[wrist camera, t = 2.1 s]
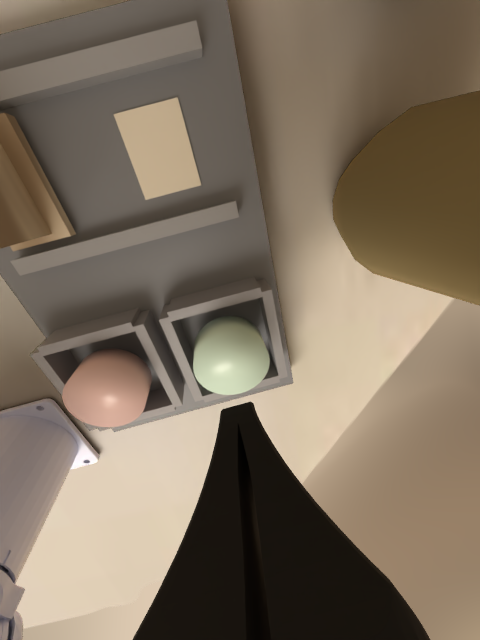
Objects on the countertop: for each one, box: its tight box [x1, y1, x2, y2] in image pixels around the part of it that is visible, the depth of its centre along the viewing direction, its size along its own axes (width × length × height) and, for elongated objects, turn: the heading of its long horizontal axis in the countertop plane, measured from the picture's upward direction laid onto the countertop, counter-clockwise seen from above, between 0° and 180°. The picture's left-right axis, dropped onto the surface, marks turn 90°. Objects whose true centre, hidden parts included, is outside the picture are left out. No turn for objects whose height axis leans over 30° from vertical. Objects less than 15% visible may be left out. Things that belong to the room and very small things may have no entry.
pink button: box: [62, 349, 152, 427], centre depth 15 cm, size 4×4×2 cm
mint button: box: [193, 316, 270, 395], centre depth 15 cm, size 4×4×2 cm
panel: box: [0, 0, 293, 432], centre depth 15 cm, size 15×22×4 cm
